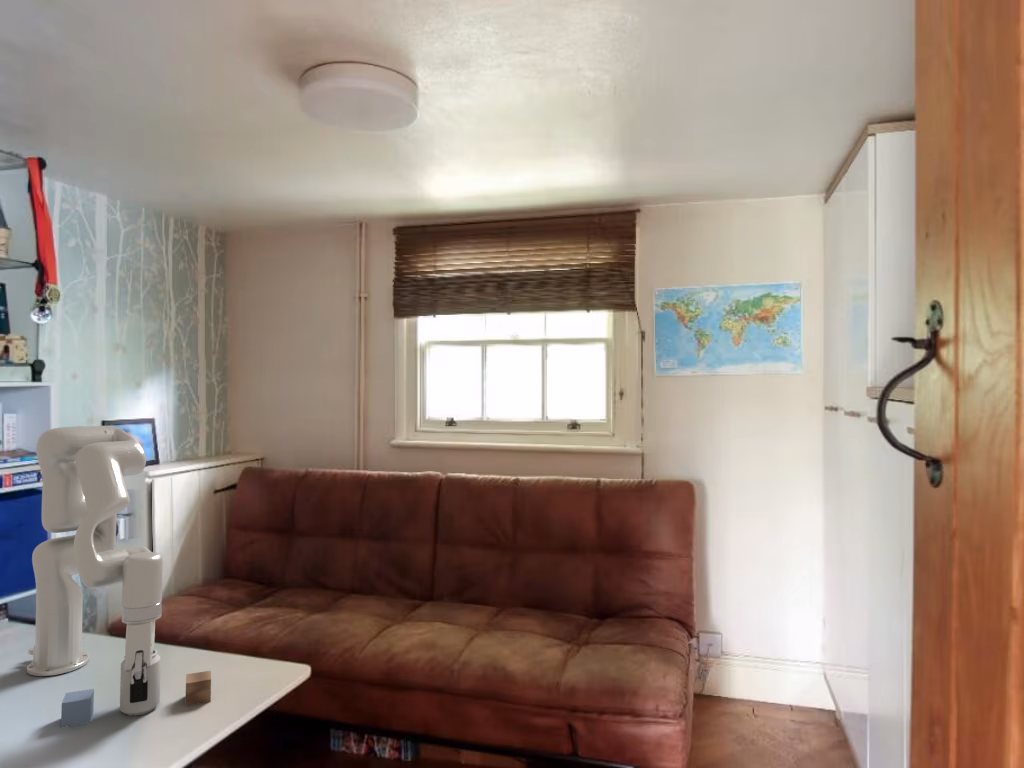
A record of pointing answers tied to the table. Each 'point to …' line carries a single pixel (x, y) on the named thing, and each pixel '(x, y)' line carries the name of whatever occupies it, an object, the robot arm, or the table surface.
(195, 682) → the walnut block
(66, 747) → the table surface
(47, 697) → the table surface
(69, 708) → the slate block
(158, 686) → the can
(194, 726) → the table surface
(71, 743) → the table surface
